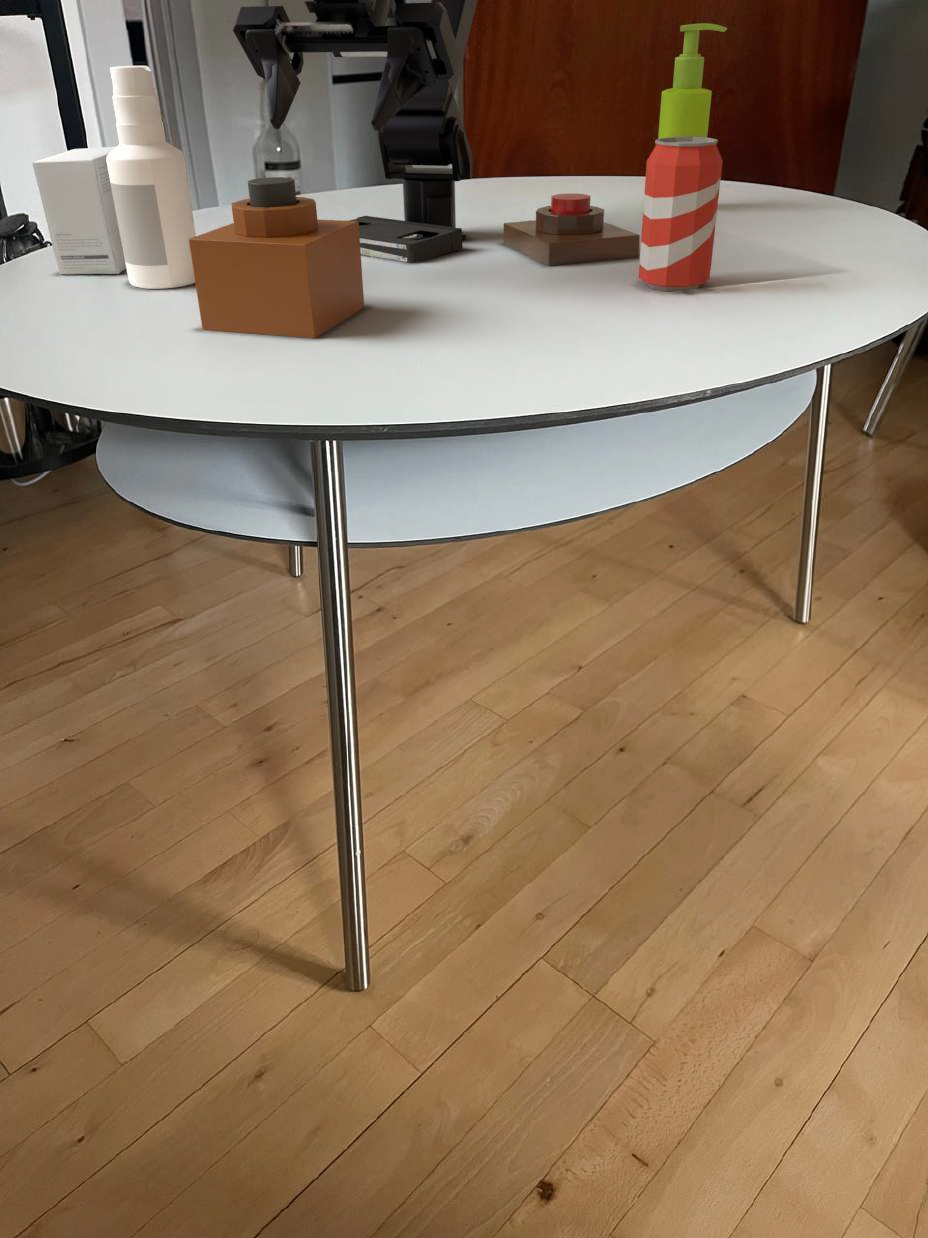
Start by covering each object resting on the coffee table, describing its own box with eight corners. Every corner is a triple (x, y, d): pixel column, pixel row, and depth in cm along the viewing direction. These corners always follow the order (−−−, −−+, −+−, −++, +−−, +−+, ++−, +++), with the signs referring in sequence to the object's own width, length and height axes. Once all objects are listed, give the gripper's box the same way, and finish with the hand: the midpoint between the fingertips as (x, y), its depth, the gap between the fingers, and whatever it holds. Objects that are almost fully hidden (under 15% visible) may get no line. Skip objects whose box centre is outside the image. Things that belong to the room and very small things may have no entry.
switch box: (503, 244, 107) (503, 204, 105) (586, 236, 110) (588, 198, 108) (548, 266, 98) (549, 223, 96) (638, 257, 100) (641, 215, 98)
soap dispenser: (708, 212, 122) (728, 23, 112) (651, 211, 123) (666, 24, 113) (708, 204, 127) (727, 22, 117) (653, 203, 128) (667, 23, 118)
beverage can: (624, 283, 91) (633, 139, 85) (677, 274, 94) (690, 134, 87) (668, 297, 86) (681, 145, 80) (722, 287, 89) (739, 140, 83)
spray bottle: (137, 274, 97) (98, 65, 88) (207, 272, 98) (176, 63, 88) (122, 291, 92) (79, 69, 82) (197, 288, 92) (163, 67, 83)
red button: (544, 212, 103) (545, 194, 102) (579, 210, 104) (580, 192, 103) (560, 219, 100) (561, 200, 99) (596, 216, 101) (597, 197, 100)
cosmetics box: (94, 253, 107) (72, 145, 101) (153, 252, 106) (134, 145, 101) (55, 275, 98) (28, 158, 92) (118, 274, 97) (96, 158, 92)
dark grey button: (264, 203, 80) (261, 176, 79) (304, 205, 79) (302, 177, 78) (242, 211, 77) (239, 182, 76) (284, 213, 76) (281, 184, 75)
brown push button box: (260, 300, 88) (247, 190, 83) (364, 307, 85) (357, 194, 80) (202, 329, 80) (183, 210, 75) (314, 338, 77) (303, 215, 72)
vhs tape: (316, 248, 108) (313, 229, 107) (366, 233, 113) (365, 215, 112) (412, 264, 100) (411, 243, 99) (462, 248, 105) (461, 228, 104)
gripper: (227, -110, 81) (178, 52, 78) (443, -122, 76) (400, 50, 73) (281, 3, 91) (240, 149, 88) (474, -1, 87) (438, 153, 83)
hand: (323, 126), depth 83 cm, fingers open, 9 cm apart
